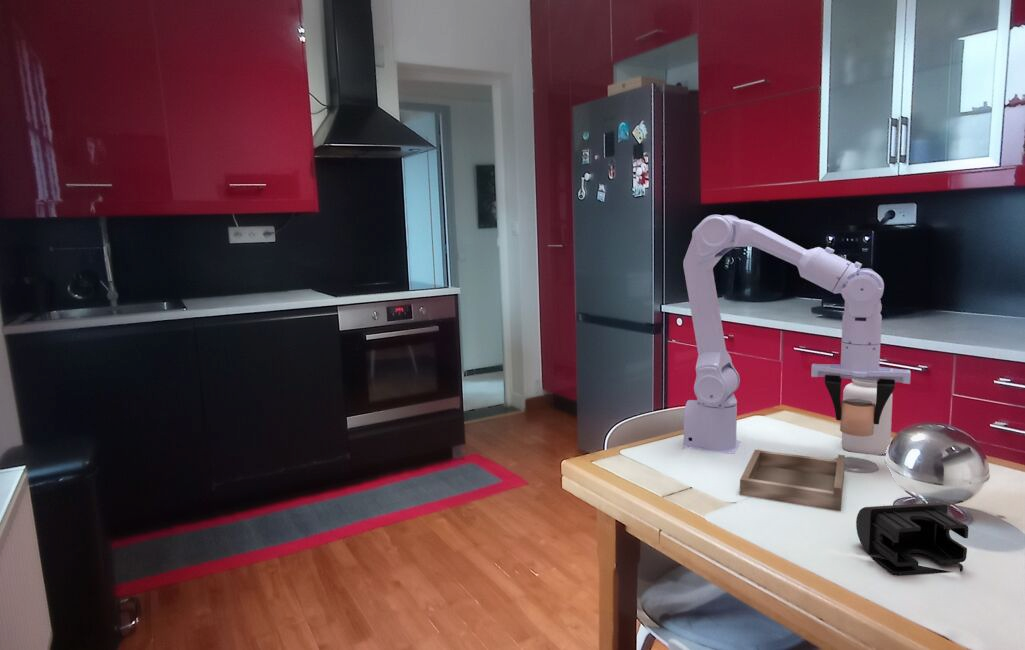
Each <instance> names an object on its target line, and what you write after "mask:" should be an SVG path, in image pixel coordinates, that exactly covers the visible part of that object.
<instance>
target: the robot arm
mask: <svg viewBox="0 0 1025 650" xmlns="http://www.w3.org/2000/svg"><path fill="white" fill-rule="evenodd" d="M691 233H692V235H691V236H692V237H691V240H690V244H689V245H688V248H687V251H686V254H685V256H684V258H683V262H682V263H683V272H684V276H685V278H684V279H685V284H686V289H687V295H688V296H687V297H688V301H689V309H690V313H691V320H692V326H693V330H694V331H693V332H694V336H695V343H696V349H697V354H698V355H697V359H696V365H695V373H696V377H695V379H694V380H695V381H694V385H693V391H694V395H695V397H696V400H695V399H688V400H687V401H686V403H685V406H684V411H683V412H684V413H683V414H684V415H683V446H682V448H683V450H684V449H691V450H692V449H693V450H701V451H708V452H714V453H723V454H730V455H734V454H736V452H737V450H738V448H739V447H740V445H741V443H742V441H741V440H737V428H738V427H737V417H738V414H737V413H738V404H737V403H738V400H737V398H736V396H735V394H734V393H735V392H736V391H737V390H738V388H739V386H740V382H741V380H740V374H739V372H738V371H737V370H736V367H735V366H734V365H733V363H732V357H731V355H730V354H729V352H728V351H727V346H726V342H725V341H726V340H725V335H724V330H723V323H722V318H721V312H720V304H719V300H718V293H717V289H716V288H717V287H716V282H715V275H714V267H715V266H716V265H717V263H719V261H720V260H721V259H722V257H723V256H724V255H725V254H727V253H728V252H730V251H732V250H733V249H735V248H739V247H743V248H746V247H749V248H750V247H753V248H755V249H756V248H757V249H759V250H761V251H763V252H766V253H767V254H770V255H772V256H774V257H776V258H778V259H781V260H783V261H785V262H788V263H790V264H791V265H794V266H796V267H797V269H798V273H799V276H800V278H802V279H805V280H807V281H809V282H811V283H813V284H815V285H816V286H819V287H820V288H823V289H825V290H827V291H829V292H831V293H833V294H834V295H835V294H841V296H842V298H843V300H844V310H843V311H844V313H843V314H842V322H841V323H842V325H841V328H842V329H841V349H840V350H841V351H840V352H841V353H840V364H839V363H836V364H835V363H831V364H829V363H828V364H827V363H826V364H825V363H822V364H821V363H812V364H811V374H810V375H811V376H810V377H811V378H818V377H821V378H822V377H824V385H825V387H826V389H827V392H828V393H829V396H830V398H831V400H832V404H833V408H834V411H835V420H836V421H841V404H842V400H841V399H842V398H841V397H842V380H843V379H849V380H850V379H851V380H852V379H862V380H876V381H877V395H876V406H875V417H874V424H879V420H880V416H881V413H882V410H883V408H884V406H885V404H886V402H887V400H888V398H889V397H890V395H891V394H892V395H893V392H894V390H895V388H896V384H895V383H902V384H907V385H911V376H912V375H911V374H912V373H911V370H910V369H902V368H901V369H899V368H892V367H885V366H880V357H881V342H882V324H883V323H882V322H883V320H882V319H883V316H882V314H881V312H882V307H883V304H882V302H881V301H882V300H881V299H882V297H883V295H884V291H885V290H884V289H885V282H884V279H883V277H881V275H879V274H878V273H877V272H876V271H874V270H873V269H872V268H868V267H867V268H864V267H863V268H861V267H862V266H863V263H860V262H859V261H855V262H854V263H853V262H852V261H850V260H848V259H845V258H843V257H842V256H839V255H837V254H835V253H834V252H835V249H833V248H831V247H829V246H826V247H825V248H822V247H820V246H817V247H814V248H810V249H806V248H804V247H802V246H801V245H798V244H797V243H795V242H793V241H790V239H787V238H785V237H783V236H781V235H779V234H778V233H776V232H774V231H772V230H770V229H768V228H766V227H764V226H762V225H760V224H758V223H754V222H753V221H749V220H746V219H740V218H739V217H737V216H736V215H733V214H732V215H731V214H725V215H721V214H711V215H708V216H706V217H705V218H704V219H703V220H701V222H699V224H698V225H696V227H695V228H694V229H693V230H692V232H691Z"/></svg>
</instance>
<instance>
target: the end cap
mask: <svg viewBox="0 0 1025 650" xmlns="http://www.w3.org/2000/svg"><path fill="white" fill-rule="evenodd" d="M948 508H949V507H948V505H947V504H946V503H943V502H927V503H925V502H924V503H908V504H894V505H876V506H875V505H874V506H864V507H862V508H861V509H860V510H858V513H857V515H856V520H855V528H856V534H857V537H858V539H859V542H860V544H861V546H862V548H863V549H864V551H865V552H866V553H867V554H868V555H869V557H870V559H872V561H873V562H875V563H876V564H877V565H879V567H881V568H883V569H884V570H885V571H886V572H887V573H889V575H891V576H895V577H899V576H900V577H901V576H915V575H918V576H919V575H933V574H944V573H945V574H947V573H948V574H950V573H952V571H948V570H944V569H940V568H939V569H938V568H934V567H929V566H924V565H919V564H920V562H919V561H918V560H917V559H916V558H914V557H913V556H911V555H910V554H912V553H917V554H918V553H919V554H923V555H926V556H929V557H931V558H933V559H934V560H936V561H937V562H938V563H940V564H941V565H947V564H954V565H956V564H957V565H958V570H959V572H963V571H964V565H963V564H962V563H964V562H965V561H967V553H968V547H966V546H964V545H963V544H961V543H960V542H957V541H956V540H955V539H953V538H952V537H951V535H950V531H952V532H953V533H955V534H956V535H958V536H960V537H961V538H963V539H969V526H968V525H967V524H965V523H964V522H962V521H960V520H959V519H957V518H955V517H953V516H952V515H950V514H948ZM874 555H876V556H874ZM877 555H882V556H883V557H884V558H881V557H877Z"/></svg>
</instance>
